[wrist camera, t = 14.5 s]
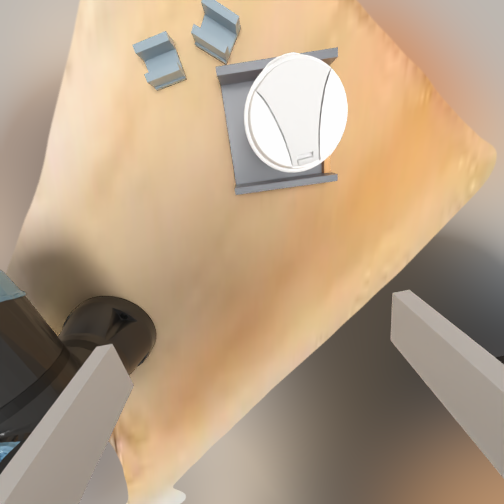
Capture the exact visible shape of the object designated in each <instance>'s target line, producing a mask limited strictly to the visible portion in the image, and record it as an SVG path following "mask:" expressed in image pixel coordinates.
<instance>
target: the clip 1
mask: <svg viewBox="0 0 504 504" xmlns="http://www.w3.org/2000/svg"><path fill="white" fill-rule="evenodd" d="M133 48H134V50H135V53H136V54H137V55H138V56H139V57H140V58H141V59H143V60H144V61H145V64H146V66H147V69H148V71H149V73H147V74H144V75H145V77H146V80H147V82H148V83H149V84H151V85H152V86H153V87H155V89H156V90H157V91H158V90H160V89H163V88H166V87H168V86H171V85H173V84H176V83H178V82H181V81H184V80H186V76H185V73H184V70H183V68H182V65H181V62H180V59H179V56H178V53H177V51H176V48H175V45H174V42H173V40H172V39H171V38H170V37H169V35H168V34H167V32H166V31H165V32H162V33H160V34H158V35H155V36H153V37H150V38H148V39H146V40H143V41H141V42H138V43H136V44H134V45H133Z"/></svg>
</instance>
